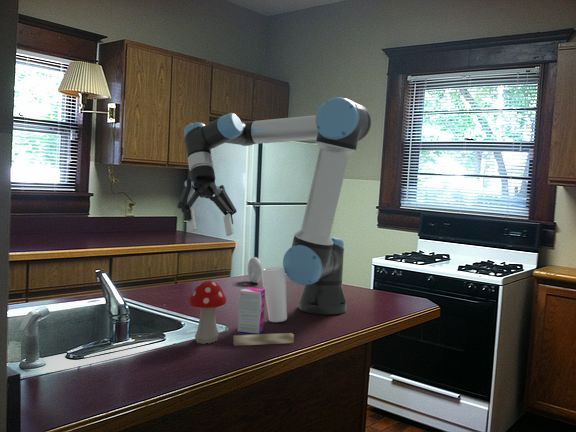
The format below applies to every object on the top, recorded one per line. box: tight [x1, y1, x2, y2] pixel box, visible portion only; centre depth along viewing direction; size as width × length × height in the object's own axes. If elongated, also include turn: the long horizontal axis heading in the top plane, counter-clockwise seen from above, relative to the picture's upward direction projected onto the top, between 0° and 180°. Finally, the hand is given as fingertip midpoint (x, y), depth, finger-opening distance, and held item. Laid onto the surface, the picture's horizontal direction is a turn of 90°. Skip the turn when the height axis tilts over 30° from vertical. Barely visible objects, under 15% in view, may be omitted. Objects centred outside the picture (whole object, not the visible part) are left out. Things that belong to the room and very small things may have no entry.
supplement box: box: [237, 286, 266, 335], centre depth 151 cm, size 6×6×12 cm
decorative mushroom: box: [189, 280, 227, 345], centre depth 142 cm, size 10×9×15 cm
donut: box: [247, 256, 263, 284], centre depth 220 cm, size 10×4×10 cm, turn 23°
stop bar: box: [232, 332, 295, 347], centre depth 142 cm, size 15×2×2 cm, turn 106°
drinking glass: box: [261, 266, 288, 323], centre depth 163 cm, size 7×7×15 cm
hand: (212, 232), depth 170 cm, fingers open, 13 cm apart
